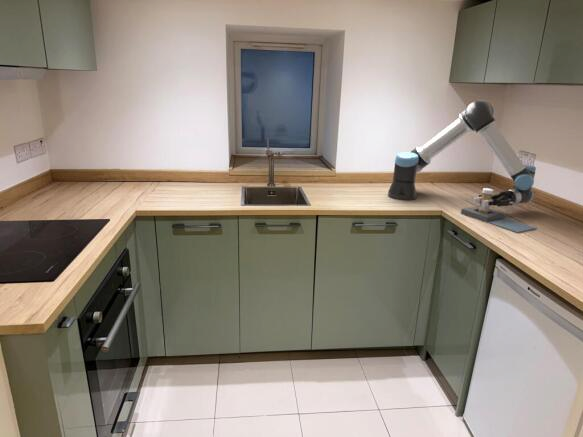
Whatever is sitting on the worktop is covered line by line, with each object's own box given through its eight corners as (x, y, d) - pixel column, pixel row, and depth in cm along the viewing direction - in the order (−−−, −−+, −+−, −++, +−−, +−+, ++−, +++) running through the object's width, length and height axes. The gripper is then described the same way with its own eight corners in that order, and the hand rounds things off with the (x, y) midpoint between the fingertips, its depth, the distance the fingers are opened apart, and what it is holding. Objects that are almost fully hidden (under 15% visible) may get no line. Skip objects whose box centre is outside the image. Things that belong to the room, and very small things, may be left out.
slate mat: (488, 223, 186) (488, 221, 186) (507, 219, 193) (507, 218, 193) (517, 233, 175) (517, 231, 174) (536, 229, 181) (536, 227, 181)
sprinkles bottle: (475, 214, 198) (481, 187, 194) (484, 214, 198) (490, 187, 194) (480, 217, 193) (486, 190, 189) (489, 217, 194) (495, 190, 190)
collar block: (460, 213, 198) (461, 208, 197) (479, 210, 205) (480, 205, 204) (486, 222, 187) (487, 217, 186) (505, 218, 194) (506, 213, 193)
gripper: (524, 209, 196) (493, 215, 185) (491, 200, 210) (461, 205, 199) (527, 194, 194) (496, 199, 183) (494, 186, 208) (464, 190, 197)
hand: (478, 202), depth 191 cm, fingers closed on sprinkles bottle, 4 cm apart
